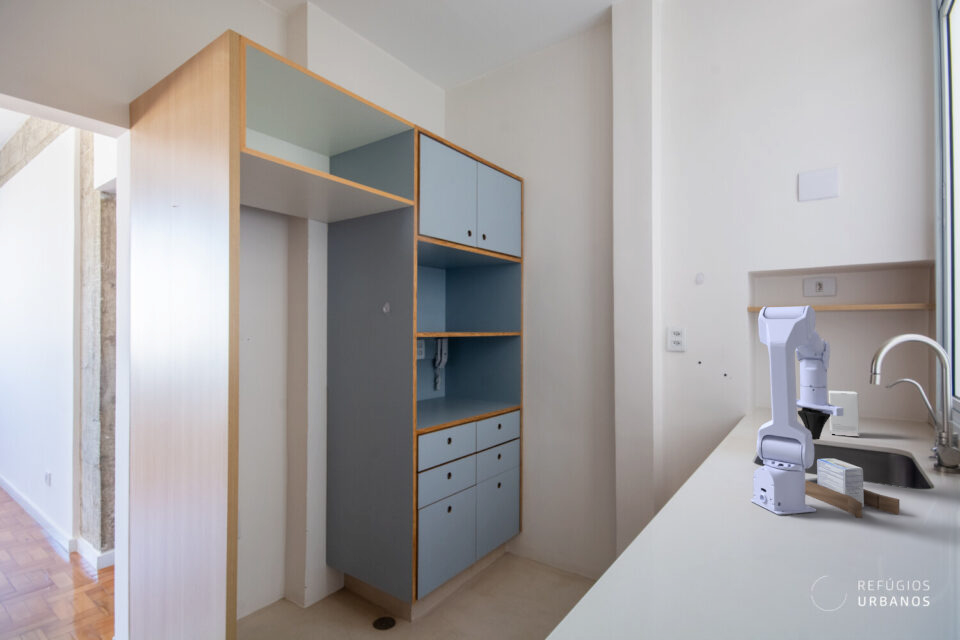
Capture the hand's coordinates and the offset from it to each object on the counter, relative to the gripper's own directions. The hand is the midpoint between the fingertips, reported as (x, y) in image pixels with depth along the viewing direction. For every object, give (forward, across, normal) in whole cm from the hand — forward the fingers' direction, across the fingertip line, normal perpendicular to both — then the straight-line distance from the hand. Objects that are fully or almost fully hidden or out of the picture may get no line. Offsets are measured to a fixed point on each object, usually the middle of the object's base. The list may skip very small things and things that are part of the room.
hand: (814, 438), depth 120 cm
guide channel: (+10, -15, +7) cm, 19 cm away
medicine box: (+11, -14, +8) cm, 19 cm away
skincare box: (+11, +39, -53) cm, 67 cm away
